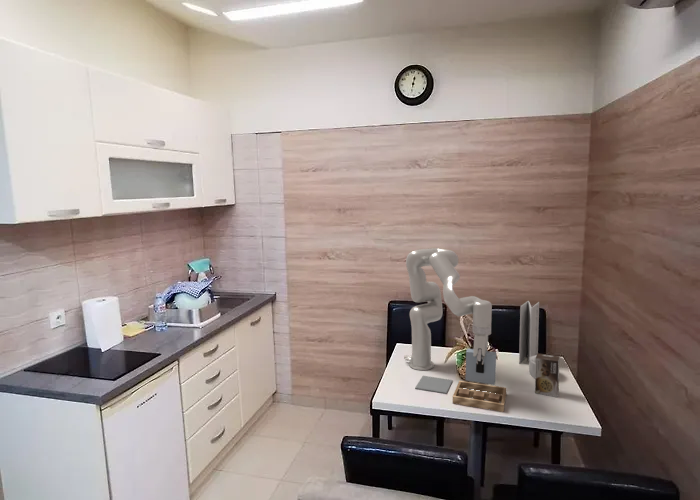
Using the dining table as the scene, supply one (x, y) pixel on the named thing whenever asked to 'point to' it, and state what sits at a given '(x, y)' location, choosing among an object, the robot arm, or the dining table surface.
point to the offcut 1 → (464, 393)
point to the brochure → (528, 330)
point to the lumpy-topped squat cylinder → (532, 365)
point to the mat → (434, 384)
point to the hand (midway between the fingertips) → (480, 370)
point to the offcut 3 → (494, 398)
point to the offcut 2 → (479, 395)
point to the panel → (489, 368)
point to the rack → (480, 403)
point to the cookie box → (547, 375)
